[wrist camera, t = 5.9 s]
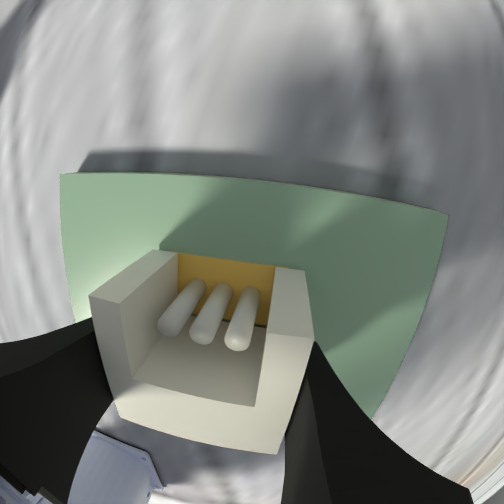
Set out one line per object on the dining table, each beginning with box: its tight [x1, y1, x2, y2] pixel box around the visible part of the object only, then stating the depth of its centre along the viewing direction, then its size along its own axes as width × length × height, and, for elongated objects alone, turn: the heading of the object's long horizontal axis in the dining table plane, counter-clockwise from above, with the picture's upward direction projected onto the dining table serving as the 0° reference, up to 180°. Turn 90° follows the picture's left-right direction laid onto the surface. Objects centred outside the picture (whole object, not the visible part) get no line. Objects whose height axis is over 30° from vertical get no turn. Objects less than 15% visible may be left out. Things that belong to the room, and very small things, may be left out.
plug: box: [88, 249, 314, 454], centre depth 8 cm, size 5×6×4 cm
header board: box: [60, 172, 449, 419], centre depth 10 cm, size 12×16×4 cm
